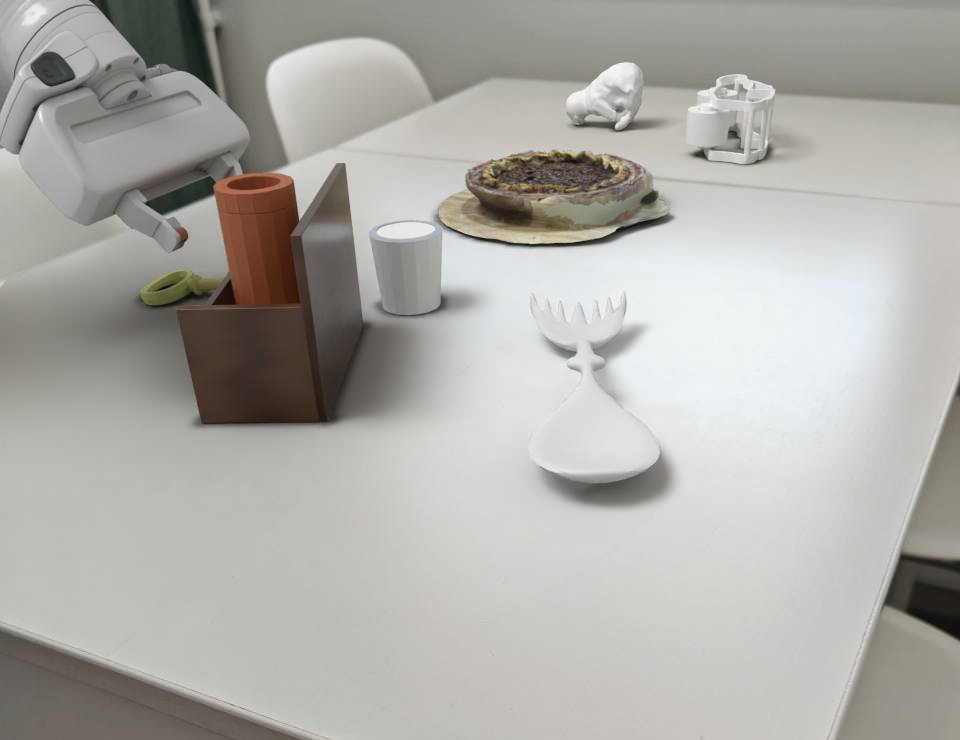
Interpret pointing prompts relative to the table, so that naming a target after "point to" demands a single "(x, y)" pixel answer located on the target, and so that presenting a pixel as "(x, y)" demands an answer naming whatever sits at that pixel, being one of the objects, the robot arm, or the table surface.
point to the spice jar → (259, 236)
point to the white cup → (408, 265)
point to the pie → (552, 197)
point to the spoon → (589, 406)
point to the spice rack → (282, 328)
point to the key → (177, 287)
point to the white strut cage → (731, 119)
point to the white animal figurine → (609, 96)
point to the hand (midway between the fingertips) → (217, 227)
